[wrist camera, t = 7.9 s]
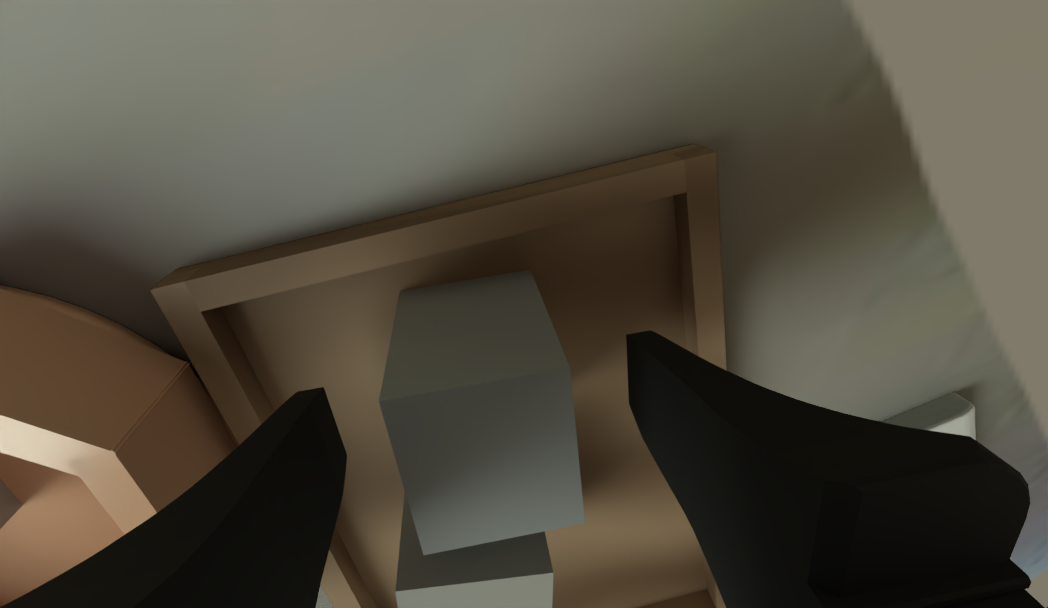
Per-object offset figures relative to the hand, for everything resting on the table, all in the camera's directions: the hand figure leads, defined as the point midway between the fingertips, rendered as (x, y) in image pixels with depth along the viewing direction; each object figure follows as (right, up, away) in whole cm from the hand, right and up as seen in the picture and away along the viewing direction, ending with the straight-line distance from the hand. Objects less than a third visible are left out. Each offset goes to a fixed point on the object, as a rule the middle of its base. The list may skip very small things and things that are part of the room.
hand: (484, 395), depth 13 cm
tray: (+1, -3, +5) cm, 6 cm away
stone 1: (0, +1, +2) cm, 3 cm away
